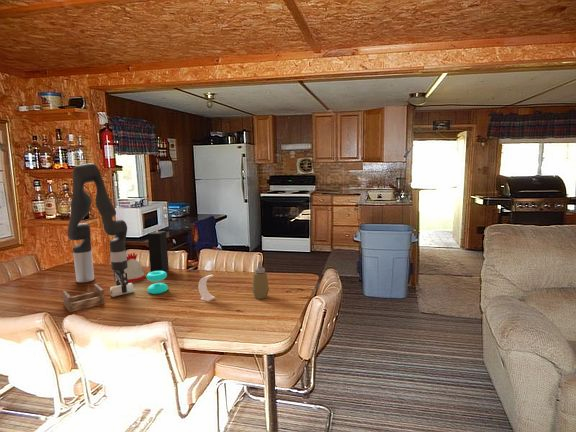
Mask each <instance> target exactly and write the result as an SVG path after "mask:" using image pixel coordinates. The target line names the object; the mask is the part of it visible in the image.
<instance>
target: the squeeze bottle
mask: <svg viewBox="0 0 576 432" xmlns="http://www.w3.org/2000/svg"><path fill="white" fill-rule="evenodd" d="M265 269H266V268H264V267H263V264H262V261H261V260H258V262H257V267H256V268H255V269H254V273H253V274H252V294H253V296H254V298H255V299H256V300H263V299H264V300H265V299H267V297H268V294H269V291H270V286H269V281H268V280H269V279H268V275H267V274H268V273H267V272H266V270H265Z"/></svg>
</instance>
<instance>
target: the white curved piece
mask: <svg viewBox="0 0 576 432" xmlns="http://www.w3.org/2000/svg"><path fill="white" fill-rule="evenodd" d="M212 277H214V274H209V275H205V276H203V277H202V278H201V277H200V279H199V282H198V286H197V287H198V291H199V294H200V296H201V297H200V300H201V301H204V302H210V301H212V300H215V299H216V297H215V296H214V295H212V294H211V293H210V292H209V289H208V287H207V281H208V279H210V278H212Z"/></svg>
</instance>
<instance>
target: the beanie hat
mask: <svg viewBox="0 0 576 432" xmlns="http://www.w3.org/2000/svg"><path fill="white" fill-rule="evenodd" d="M137 256H138V253H136V254H135V252H133V253H132V252H130V253H128V254H127V264H128V267H127V268H126V269H124V272H125V273H127V279H128V283H133V282H139V281H141V280H143V279H146V275H145V274H146V273H145V271H144V268H143V266H142V264H141V263H140V262H139V260H137Z"/></svg>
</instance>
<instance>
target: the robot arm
mask: <svg viewBox="0 0 576 432" xmlns="http://www.w3.org/2000/svg"><path fill="white" fill-rule="evenodd" d="M91 182H92V183H93V182H94V184H95V187H96V193H95V203H94V204H95V206H96V209H97V211H98V213H99V214H100V216H101V221H102V226H103V230H104V232H105V234H107V235H109V236H114V238H113V239H111V240H110V241H109V249H110V251H109V252H110V257H109V258H110V265H111V266H110V267H111V270H112V271H113V279H114V281H115V284H116V285H115V286H118V285H121V287H122V293H126V292H127V286H126V285H128V283H129V282H128V279H127V273H125V272H124V269H126V268H127V267H128V264H127V257H128V254H127V250H126V239H127V233H128V225H127V223H126V222H125V220H123V219H115V220H113V218H114V217H115V216H116V215H117V212H116V211H117V210H116V209H115V207H114V205H113V203H112V202H111V199H110V197H109V195H108V192H107V189H106V185H105V182H104V179H103V177H102V174H101V172H100V169H99V167H98V165H96V163H94V162H93V163H92V162H88V163H83V164H77V165H75V166H74V167H73V170H72V195H71V203H70V216H69V217H70V218H69V222H68V227H67V236H68V239H69V240H70V241H80V240H82V241H81V242H80V243H79V244H76V245H75V246H74V247H72V256H73V263H74V271H75V281H76V282H77V283H88V282H92V281H94V280H95V273H94V272H95V271H94V261H93V260H94V259H93V251H92V239H91V226H90V224H89V223H88V222H83V223H81V221H82V220H83V219H84V218H86V216H88V214H90V211H91V207H92V198H91V196H90V195H89V193H87V191H86V190H85V189H84V185H85V184H86V183H91Z"/></svg>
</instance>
